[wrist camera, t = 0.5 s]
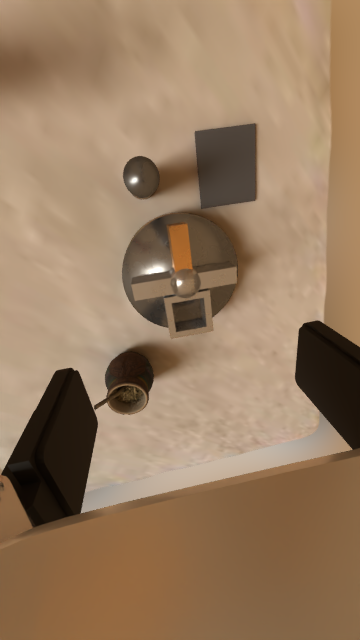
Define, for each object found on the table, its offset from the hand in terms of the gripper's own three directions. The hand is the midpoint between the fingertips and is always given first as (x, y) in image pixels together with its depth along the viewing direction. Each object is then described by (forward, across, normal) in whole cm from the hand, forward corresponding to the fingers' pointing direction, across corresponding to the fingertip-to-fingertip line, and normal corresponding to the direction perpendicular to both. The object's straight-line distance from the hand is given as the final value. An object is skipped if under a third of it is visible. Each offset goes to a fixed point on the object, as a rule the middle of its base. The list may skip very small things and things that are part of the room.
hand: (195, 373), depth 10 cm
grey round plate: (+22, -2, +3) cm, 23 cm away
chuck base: (+26, -2, +2) cm, 26 cm away
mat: (+26, -10, -9) cm, 29 cm away
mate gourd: (+26, +8, +16) cm, 32 cm away
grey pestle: (+26, 0, -9) cm, 27 cm away
